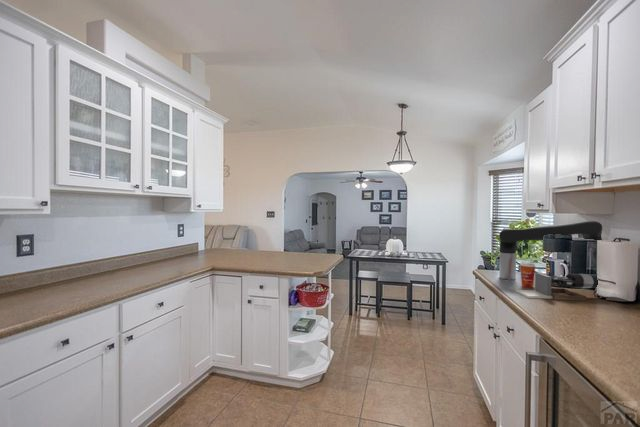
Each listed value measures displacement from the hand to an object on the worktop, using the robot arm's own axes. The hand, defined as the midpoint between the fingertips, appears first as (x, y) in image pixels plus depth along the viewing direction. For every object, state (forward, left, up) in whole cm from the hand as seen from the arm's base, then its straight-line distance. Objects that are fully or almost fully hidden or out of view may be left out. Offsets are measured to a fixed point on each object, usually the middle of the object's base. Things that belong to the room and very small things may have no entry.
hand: (545, 280), depth 165 cm
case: (0, +7, -8) cm, 11 cm away
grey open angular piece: (0, -6, -8) cm, 10 cm away
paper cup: (-18, +1, -8) cm, 20 cm away
